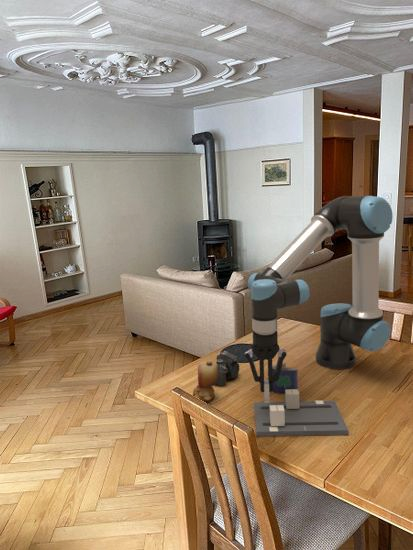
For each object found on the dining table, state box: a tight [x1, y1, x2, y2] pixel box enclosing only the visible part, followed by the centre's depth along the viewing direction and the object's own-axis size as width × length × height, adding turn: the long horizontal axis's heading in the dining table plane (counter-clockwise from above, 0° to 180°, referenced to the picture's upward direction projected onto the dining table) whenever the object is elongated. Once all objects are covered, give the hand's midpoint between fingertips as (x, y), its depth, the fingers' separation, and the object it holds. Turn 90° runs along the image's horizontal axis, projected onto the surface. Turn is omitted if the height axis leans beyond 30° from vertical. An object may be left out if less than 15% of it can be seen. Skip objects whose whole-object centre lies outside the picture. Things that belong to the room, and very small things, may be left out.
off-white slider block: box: [284, 388, 300, 409], centre depth 129 cm, size 4×3×5 cm
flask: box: [271, 362, 299, 395], centre depth 141 cm, size 9×3×11 cm, turn 74°
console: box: [253, 400, 349, 437], centre depth 125 cm, size 26×16×2 cm, turn 87°
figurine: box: [192, 359, 218, 403], centre depth 140 cm, size 10×8×15 cm
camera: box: [213, 350, 240, 387], centre depth 153 cm, size 13×10×10 cm
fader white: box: [270, 405, 285, 426], centre depth 121 cm, size 4×3×5 cm
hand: (266, 400), depth 130 cm, fingers closed
